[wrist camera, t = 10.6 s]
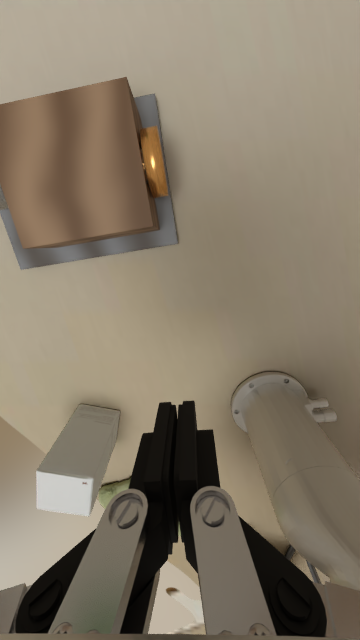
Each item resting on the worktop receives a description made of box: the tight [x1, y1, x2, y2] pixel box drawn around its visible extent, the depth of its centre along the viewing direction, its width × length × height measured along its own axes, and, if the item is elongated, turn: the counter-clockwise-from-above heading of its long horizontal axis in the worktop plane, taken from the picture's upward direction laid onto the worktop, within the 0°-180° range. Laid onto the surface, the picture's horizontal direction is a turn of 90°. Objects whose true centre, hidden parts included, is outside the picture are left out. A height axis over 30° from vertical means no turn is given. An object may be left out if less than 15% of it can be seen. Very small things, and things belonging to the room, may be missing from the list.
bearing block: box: [0, 77, 178, 270], centre depth 26 cm, size 22×16×8 cm
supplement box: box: [36, 404, 120, 516], centre depth 36 cm, size 7×7×13 cm
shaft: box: [0, 126, 168, 210], centre depth 25 cm, size 20×6×6 cm, turn 99°
